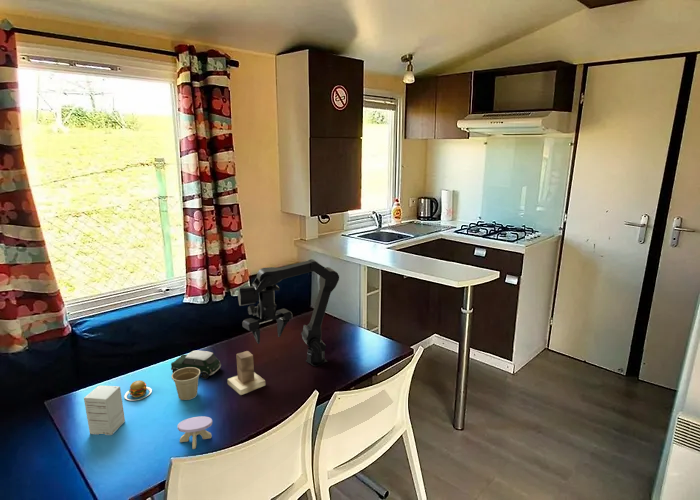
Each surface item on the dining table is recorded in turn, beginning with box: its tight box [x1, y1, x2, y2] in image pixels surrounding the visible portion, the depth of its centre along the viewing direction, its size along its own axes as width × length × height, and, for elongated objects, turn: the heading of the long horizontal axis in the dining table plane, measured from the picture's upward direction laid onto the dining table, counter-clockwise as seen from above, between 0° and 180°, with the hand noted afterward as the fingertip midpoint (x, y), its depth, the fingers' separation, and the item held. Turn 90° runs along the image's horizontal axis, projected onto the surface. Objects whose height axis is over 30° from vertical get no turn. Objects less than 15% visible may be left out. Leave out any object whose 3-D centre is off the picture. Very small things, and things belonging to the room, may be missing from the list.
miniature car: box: [170, 349, 222, 380], centre depth 172 cm, size 9×18×8 cm, turn 76°
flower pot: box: [171, 367, 201, 401], centre depth 155 cm, size 9×9×9 cm
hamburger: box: [123, 380, 153, 402], centre depth 156 cm, size 12×12×6 cm
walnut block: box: [235, 350, 255, 384], centre depth 161 cm, size 4×4×10 cm
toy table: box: [176, 415, 213, 450], centre depth 132 cm, size 10×9×6 cm
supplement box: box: [83, 385, 126, 436], centre depth 137 cm, size 7×7×13 cm
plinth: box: [227, 371, 266, 396], centre depth 163 cm, size 10×10×2 cm
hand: (268, 340), depth 170 cm, fingers open, 9 cm apart
